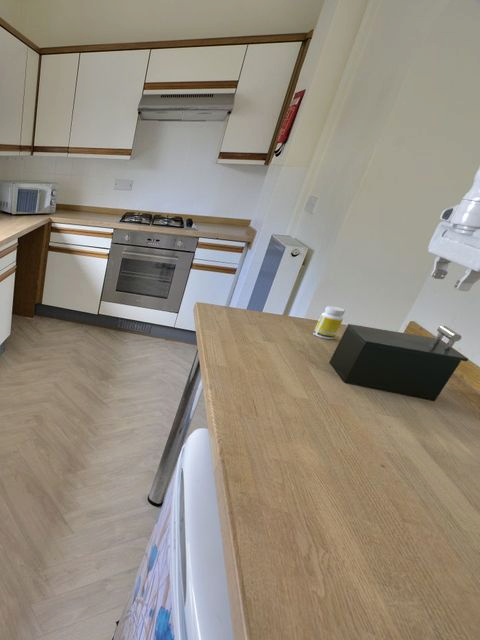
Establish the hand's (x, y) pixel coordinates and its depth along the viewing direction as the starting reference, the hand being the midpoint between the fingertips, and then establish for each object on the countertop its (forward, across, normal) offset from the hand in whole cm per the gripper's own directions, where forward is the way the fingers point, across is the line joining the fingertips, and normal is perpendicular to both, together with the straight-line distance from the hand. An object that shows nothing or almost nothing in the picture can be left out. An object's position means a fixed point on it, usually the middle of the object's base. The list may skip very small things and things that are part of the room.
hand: (448, 283), depth 87 cm
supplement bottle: (+22, +18, +10) cm, 31 cm away
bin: (+22, -7, +6) cm, 24 cm away
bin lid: (+12, -7, +5) cm, 15 cm away
